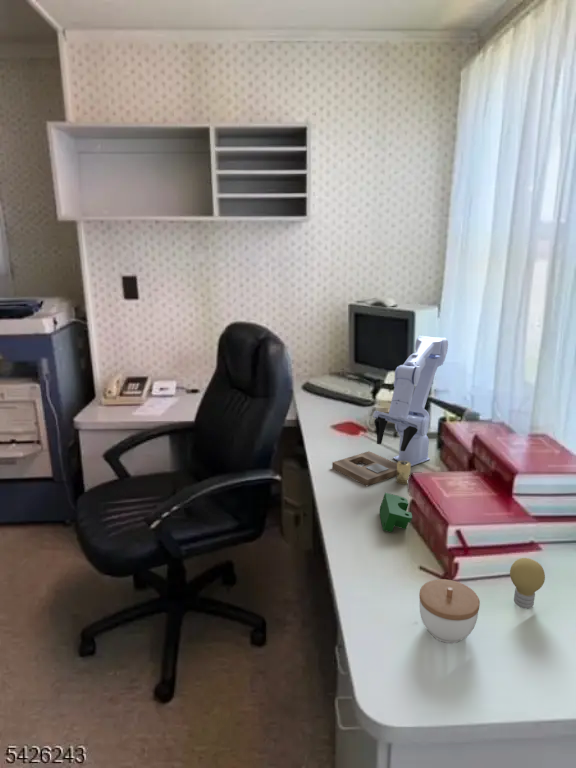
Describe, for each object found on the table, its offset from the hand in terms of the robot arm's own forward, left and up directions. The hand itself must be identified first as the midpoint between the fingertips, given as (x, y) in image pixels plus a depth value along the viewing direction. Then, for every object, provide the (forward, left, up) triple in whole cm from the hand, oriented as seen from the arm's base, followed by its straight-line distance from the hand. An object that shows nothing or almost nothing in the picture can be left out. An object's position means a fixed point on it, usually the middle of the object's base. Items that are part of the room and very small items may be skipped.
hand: (390, 447), depth 163 cm
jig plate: (-1, -10, -11) cm, 15 cm away
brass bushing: (-4, +2, -11) cm, 12 cm away
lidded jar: (+38, +52, -12) cm, 66 cm away
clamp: (+16, +18, -12) cm, 27 cm away
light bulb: (+19, +56, -12) cm, 60 cm away
